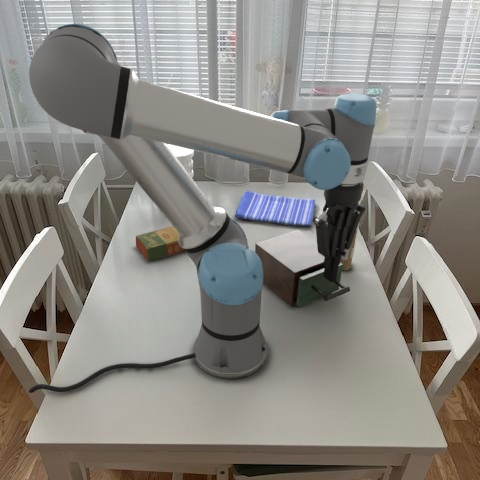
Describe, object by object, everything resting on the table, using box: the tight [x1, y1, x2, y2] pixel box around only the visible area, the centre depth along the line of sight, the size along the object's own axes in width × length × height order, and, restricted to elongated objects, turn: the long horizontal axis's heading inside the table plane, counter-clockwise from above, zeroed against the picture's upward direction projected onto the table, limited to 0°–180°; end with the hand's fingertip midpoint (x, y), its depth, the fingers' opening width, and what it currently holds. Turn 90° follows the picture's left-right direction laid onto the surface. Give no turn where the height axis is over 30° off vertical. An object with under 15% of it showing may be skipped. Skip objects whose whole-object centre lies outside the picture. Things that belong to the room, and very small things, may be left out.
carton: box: [135, 225, 185, 262], centre depth 136 cm, size 8×16×4 cm, turn 122°
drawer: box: [294, 263, 351, 308], centre depth 118 cm, size 20×12×8 cm, turn 34°
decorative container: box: [167, 144, 195, 180], centre depth 152 cm, size 12×12×18 cm
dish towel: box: [234, 190, 316, 227], centre depth 155 cm, size 17×24×3 cm
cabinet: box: [254, 229, 325, 307], centre depth 122 cm, size 16×14×10 cm
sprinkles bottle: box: [340, 223, 360, 271], centre depth 127 cm, size 5×5×13 cm
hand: (329, 278), depth 112 cm, fingers closed
